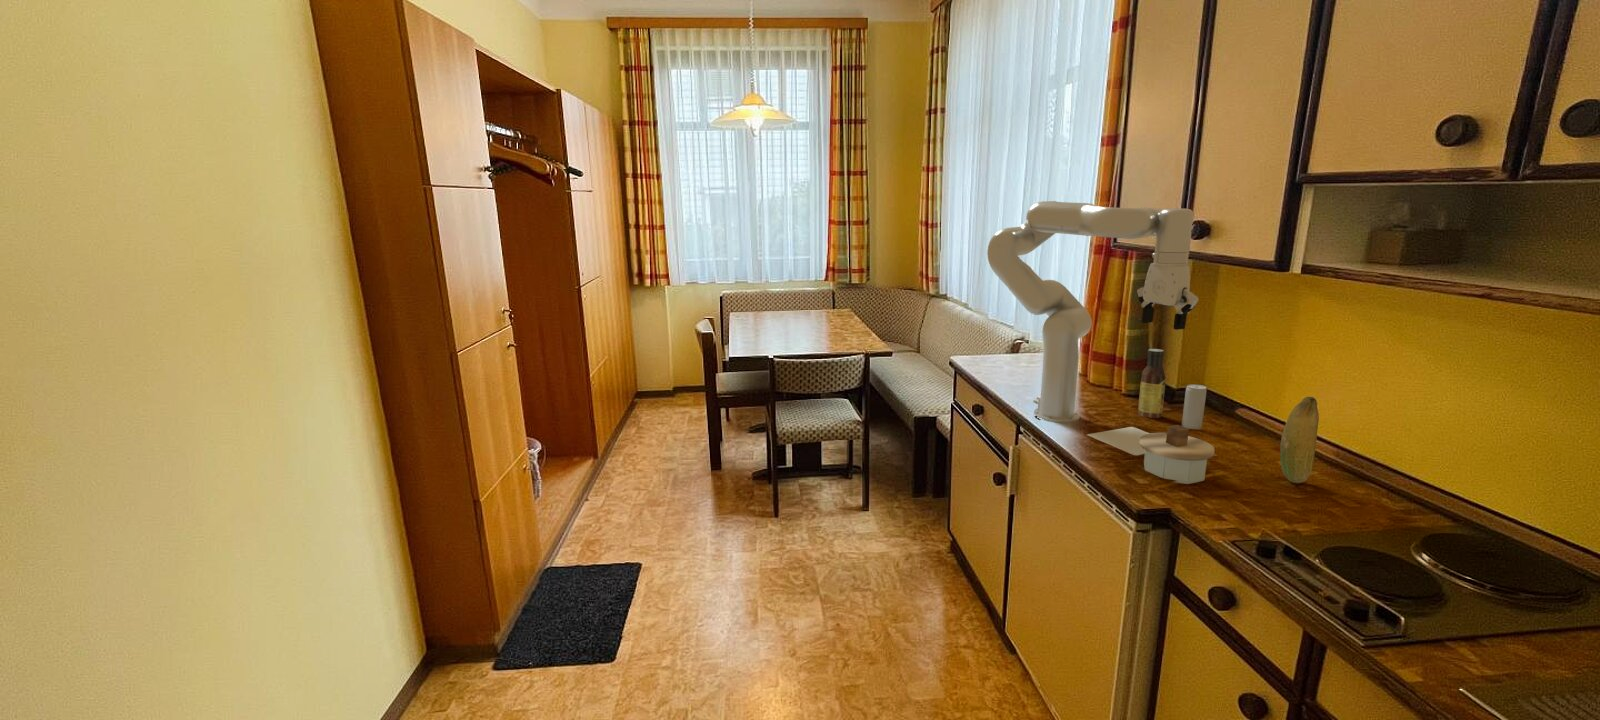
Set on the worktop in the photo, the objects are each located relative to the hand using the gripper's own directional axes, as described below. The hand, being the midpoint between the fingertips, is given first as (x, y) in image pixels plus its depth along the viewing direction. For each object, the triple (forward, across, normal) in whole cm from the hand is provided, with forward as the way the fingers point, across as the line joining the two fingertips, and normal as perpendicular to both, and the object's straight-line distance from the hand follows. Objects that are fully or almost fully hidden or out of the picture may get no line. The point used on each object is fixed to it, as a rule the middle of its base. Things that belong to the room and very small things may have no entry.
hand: (1162, 325), depth 166 cm
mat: (+30, +2, -8) cm, 31 cm away
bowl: (+30, +20, -14) cm, 39 cm away
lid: (+24, +20, -14) cm, 35 cm away
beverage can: (+30, 0, +15) cm, 34 cm away
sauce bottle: (+30, -12, +13) cm, 35 cm away
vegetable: (+30, +34, +5) cm, 46 cm away
